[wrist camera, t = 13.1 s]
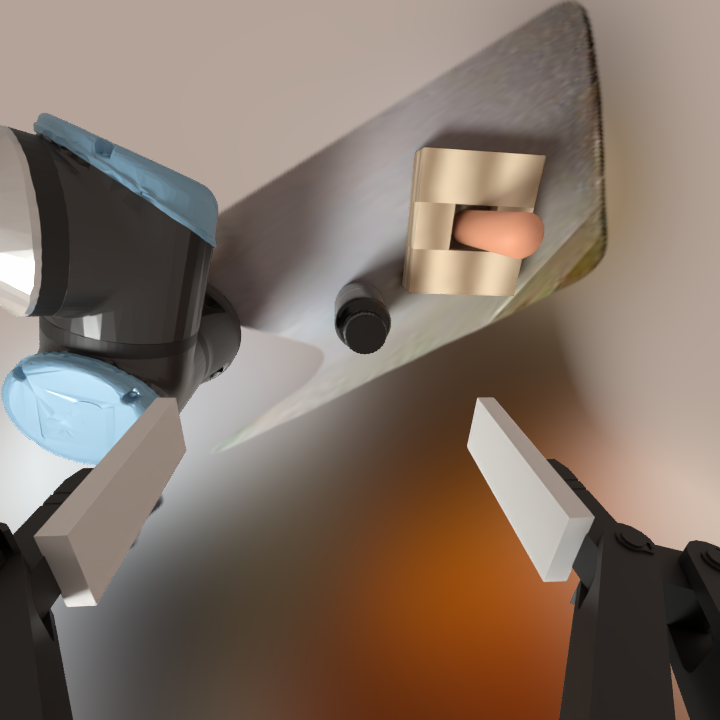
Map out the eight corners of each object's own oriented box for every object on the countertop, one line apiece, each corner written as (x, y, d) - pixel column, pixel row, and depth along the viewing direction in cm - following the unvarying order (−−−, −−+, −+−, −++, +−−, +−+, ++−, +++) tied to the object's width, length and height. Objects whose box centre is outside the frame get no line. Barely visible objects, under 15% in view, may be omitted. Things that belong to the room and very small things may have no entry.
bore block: (402, 285, 48) (408, 293, 44) (414, 152, 42) (424, 147, 38) (498, 288, 50) (513, 295, 46) (525, 160, 43) (546, 155, 39)
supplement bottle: (346, 272, 47) (352, 293, 36) (390, 293, 49) (408, 319, 38) (326, 316, 49) (325, 348, 38) (368, 335, 51) (379, 371, 40)
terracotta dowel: (447, 242, 45) (497, 257, 32) (452, 208, 43) (507, 210, 30) (476, 244, 45) (537, 259, 33) (483, 211, 44) (549, 213, 31)
